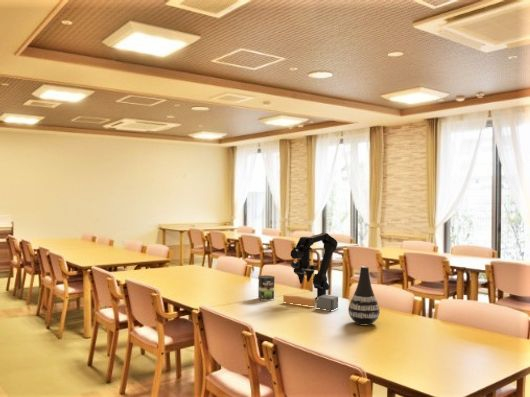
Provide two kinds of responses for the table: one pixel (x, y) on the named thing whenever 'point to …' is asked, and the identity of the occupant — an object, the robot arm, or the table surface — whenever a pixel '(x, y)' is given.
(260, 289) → the coffee can
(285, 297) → the orange rectangular bar
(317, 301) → the dispenser
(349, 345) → the table surface
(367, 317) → the vase
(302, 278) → the robot arm
